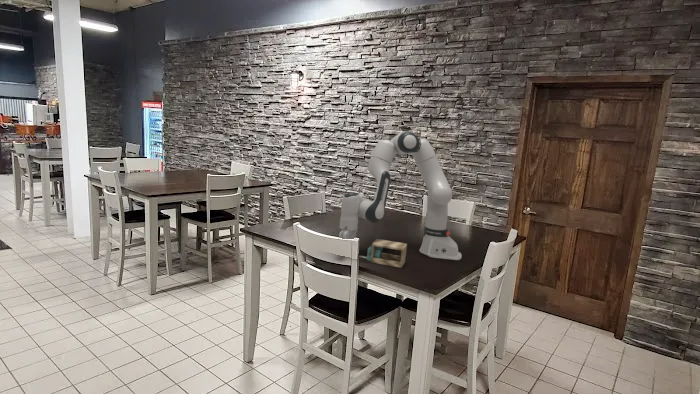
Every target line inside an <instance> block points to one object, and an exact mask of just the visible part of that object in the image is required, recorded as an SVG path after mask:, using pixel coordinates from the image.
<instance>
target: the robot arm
mask: <svg viewBox="0 0 700 394" xmlns="http://www.w3.org/2000/svg"><path fill="white" fill-rule="evenodd" d="M408 154H410V155H411V156H412V157H413V158H414V161H415V164H416V166H417V169H418V171H419V174H420V176H421V178H422V180H423V183H424V185H425V187H426V189H427V201H426V202H427V203H426V204H427V205H426V217H425V225H424V227H423V234H422V235H423V239H422V243H421V246H420V248H419V249H418V250H419V253H421V254H422V255H425V256H427V257H429V258H434V259H443V260H450V261H451V260H453V261H460V260H461V259H462V255H463V254H462V253H461V252H459V246H458V243H457V242H455V240H454V239H453V238H452V237H451V236H450V235H451V232H450V229H448V228H447V224H448V223H447V222H448V217H449V213H448V212H449V211H448V209H449V208H448V207H449V206H448V204H449V203H450V202H451V200H452V198H453V190H452V188H451V186H450V184H449V181H448V179H447V177H446V175H445V172H444V171H443V169H442V166H441V164H440V162H439V160H438V157H437V155H436V153H435V150H434V148H433V147H432V145H431V143H430V142H429V140H428V139H426V138H419V137H418V136H417V134H415V133H413V132H410V131H404V132H400V133H398V134H396V135H395V136H393V137H392V138H390V139H380V140H379V141H378V142H377V143H376V145H375V146H374V149H373V151H372V153H371V156H370V158H369V161H368V165H367V169H368V172H369V173H370V175H371V176H372V177H373V178H374V179H375V181H376V183H377V187H376V189H375V190H376V191H375V193H374V194H375V195H374V199H373V200H371V199H367V198H365V197H363V196H361V195H360V194H359V193H357V192H347V193H345V194H344V195H343V196H342V199H341V208H340V212H341V215H340V218H339V229H341V231H339V235H338V239H339V238H342V239H354V238H355V239H356V237H357V233H358V227H359V226H360V222H359V218H362V219H364V220H367V221H369V222H370V223H372V224H373V223H375V224H376V223H378V222H380V221H381V220H382V219H384V216H385V213H386V203H387V199H388V193H389V189H390V185H391V174H390V168H391V165H392V162H393V159H394V158H395V156H405V155H408ZM355 239H354V240H355Z"/></svg>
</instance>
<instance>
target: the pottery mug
mask: <svg viewBox="0 0 700 394" xmlns="http://www.w3.org/2000/svg"><path fill="white" fill-rule="evenodd" d="M398 252H399V250H396V249H390V248H384V247H382V253H386V254H392V255H396V253H398Z"/></svg>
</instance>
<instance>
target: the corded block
mask: <svg viewBox="0 0 700 394" xmlns="http://www.w3.org/2000/svg"><path fill="white" fill-rule="evenodd" d="M371 250H372V245H370V246H368V247H367V255H366V256H364V255H359V257H358V258H360V259H366V261H367V262H370V261H371ZM382 251H383V248H382V247H377V246H374V255H373V257H375V258H381V257H382ZM381 259H382V258H381Z"/></svg>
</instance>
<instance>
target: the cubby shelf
mask: <svg viewBox="0 0 700 394" xmlns="http://www.w3.org/2000/svg"><path fill="white" fill-rule="evenodd" d="M371 246H372V250H371V261H369V262H370V263H372V264H376V265H378V264H379V265H384V266H388V267H389V266H390V267H396V268H399V269H402V268H403V266H404V265H405V263H406V258H407V257H406V256H407V250H408V249H407V248H408V243H405V242H399V241H392V240H386V239H379V238H376V239H375V240H374V241H373V242H372V244H371ZM374 246H377V247H384V248H390V249H396V250H398V251H401V252H400V255H399V254H398V255H396V254H394V255H392V253H391V254H386V253H382V257H381V258H375V257H373V255H374Z"/></svg>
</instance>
